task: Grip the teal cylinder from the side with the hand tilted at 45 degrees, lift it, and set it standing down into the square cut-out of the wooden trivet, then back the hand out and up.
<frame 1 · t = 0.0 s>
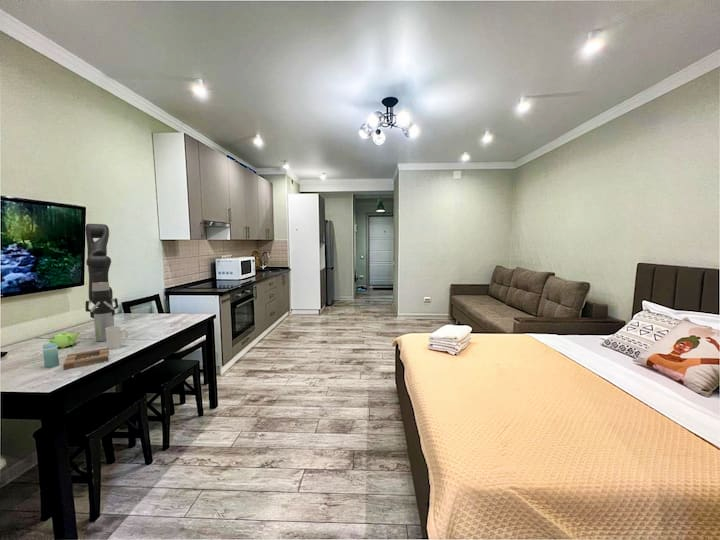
hand: (103, 317, 165), 17 cm above the table, tool pointing down, fingers open, 8 cm apart
wooden trivet: (88, 360, 146), on the table
teapot: (64, 346, 164), on the table
teal cylinder: (52, 365, 139), on the table
mug: (118, 347, 164), on the table
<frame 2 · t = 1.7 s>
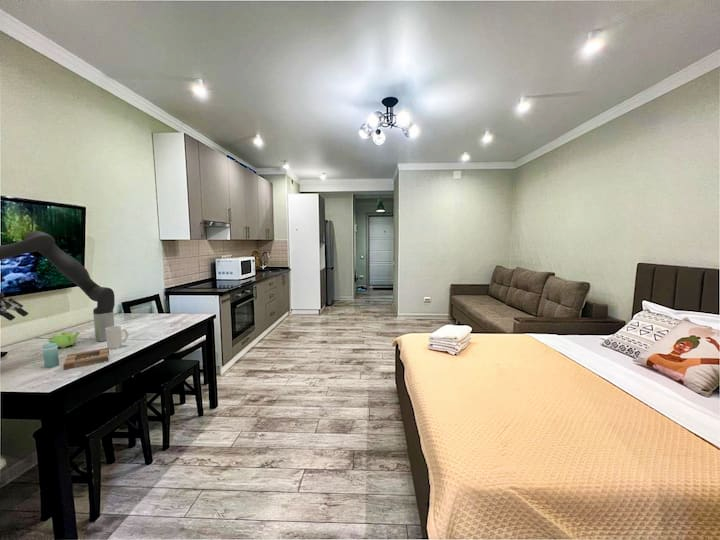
hand: (20, 317, 133), 26 cm above the table, tool tilted 45°, fingers open, 8 cm apart
nothing on the table moved.
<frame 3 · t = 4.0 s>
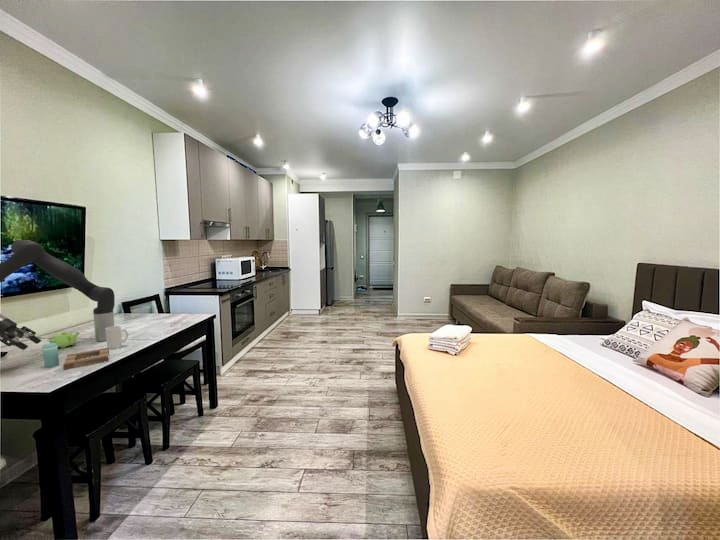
hand: (33, 345, 136), 11 cm above the table, tool tilted 45°, fingers open, 8 cm apart
nothing on the table moved.
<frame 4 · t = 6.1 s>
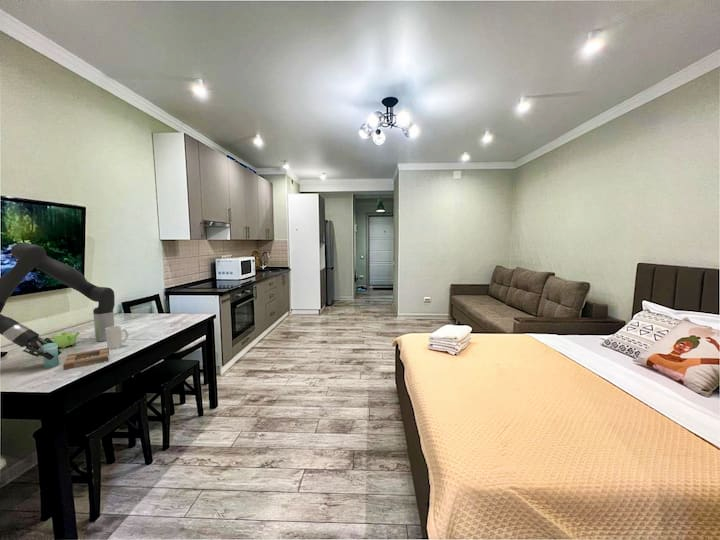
hand: (56, 356, 139), 5 cm above the table, tool tilted 45°, fingers closed on teal cylinder, 5 cm apart
teal cylinder: (52, 365, 139), on the table, touching gripper
everything else where it was.
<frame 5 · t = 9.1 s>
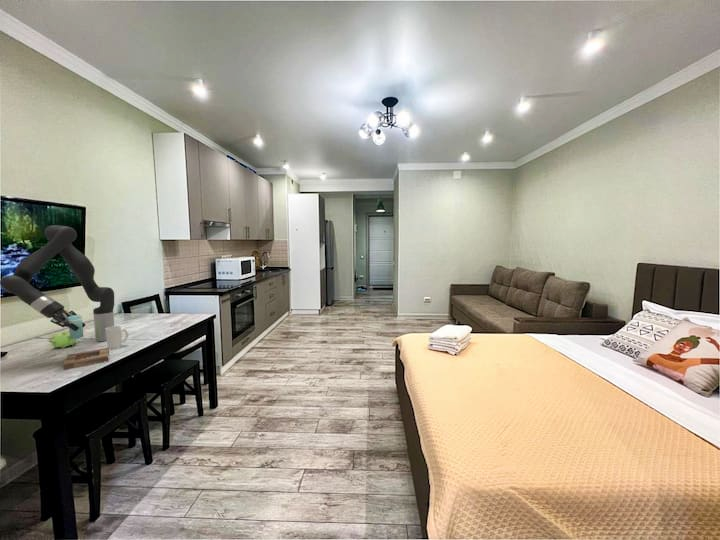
hand: (80, 327, 143), 18 cm above the table, tool tilted 45°, fingers closed on teal cylinder, 4 cm apart
teal cylinder: (76, 337, 143), point 13 cm above the table, touching gripper
everything else where it was.
when the fingers open (6 cm above the table, at t = 12.1 s): teal cylinder drops 1 cm, resting in wooden trivet.
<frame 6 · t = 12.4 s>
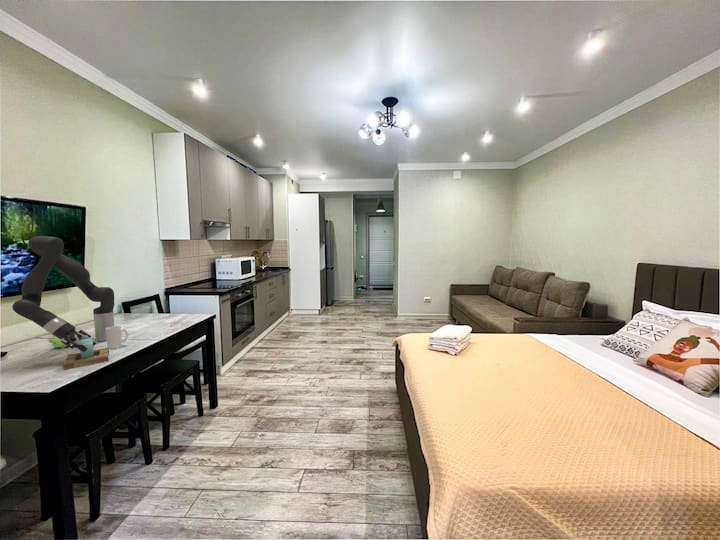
hand: (90, 347, 146), 7 cm above the table, tool tilted 45°, fingers open, 7 cm apart
teal cylinder: (87, 360, 146), resting in wooden trivet
everything else where it was.
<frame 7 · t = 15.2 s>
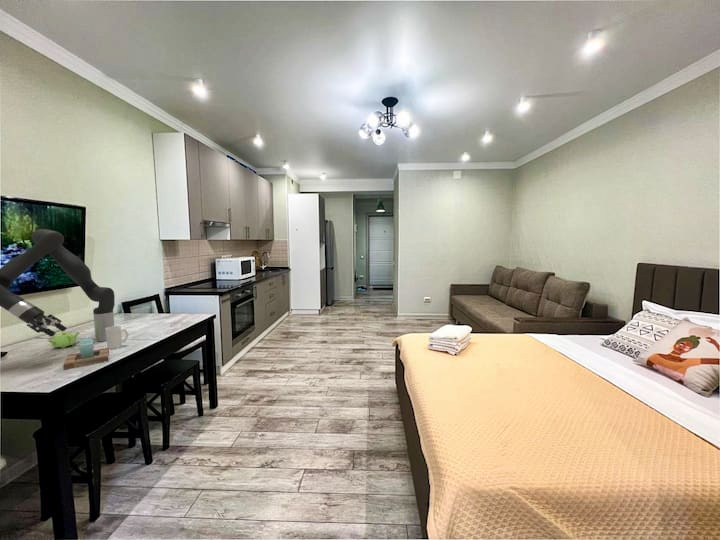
hand: (59, 332, 141), 16 cm above the table, tool tilted 45°, fingers open, 8 cm apart
nothing on the table moved.
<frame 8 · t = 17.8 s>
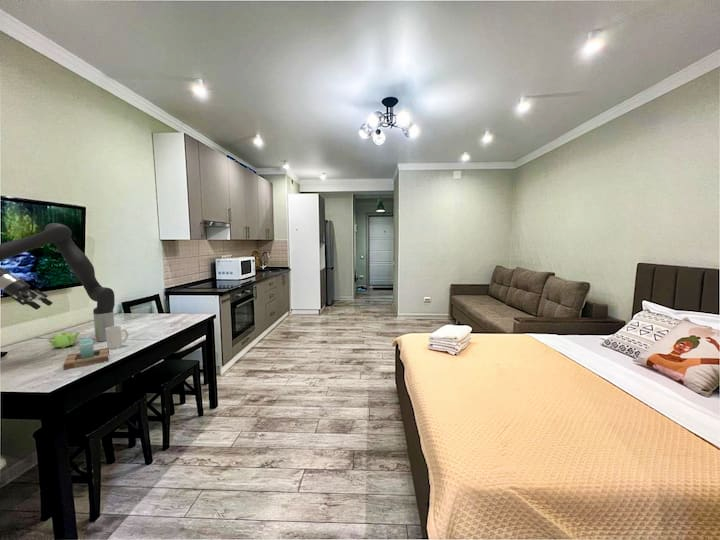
hand: (45, 306, 142), 29 cm above the table, tool tilted 45°, fingers open, 8 cm apart
nothing on the table moved.
at the end: teal cylinder 0.1 cm off-centre on the wooden trivet, point 0.0 cm above the wooden trivet's base; teal cylinder tilted 0°; the gripper is holding nothing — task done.
